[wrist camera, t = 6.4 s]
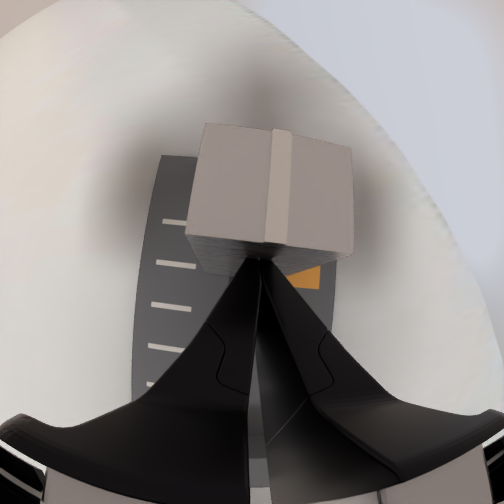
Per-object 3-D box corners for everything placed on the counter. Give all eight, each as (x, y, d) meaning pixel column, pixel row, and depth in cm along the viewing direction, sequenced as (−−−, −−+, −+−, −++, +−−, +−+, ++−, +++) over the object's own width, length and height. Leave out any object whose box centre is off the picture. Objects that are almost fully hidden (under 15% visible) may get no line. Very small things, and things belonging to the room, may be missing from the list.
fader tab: (273, 280, 16) (356, 253, 6) (205, 273, 16) (183, 232, 6) (277, 230, 17) (352, 145, 7) (211, 222, 16) (205, 119, 6)
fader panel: (308, 458, 15) (324, 483, 11) (135, 447, 13) (122, 473, 10) (334, 181, 18) (356, 159, 15) (162, 158, 17) (152, 130, 14)
